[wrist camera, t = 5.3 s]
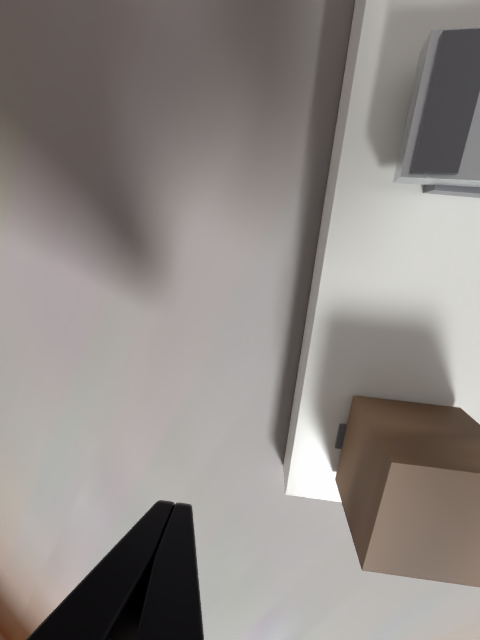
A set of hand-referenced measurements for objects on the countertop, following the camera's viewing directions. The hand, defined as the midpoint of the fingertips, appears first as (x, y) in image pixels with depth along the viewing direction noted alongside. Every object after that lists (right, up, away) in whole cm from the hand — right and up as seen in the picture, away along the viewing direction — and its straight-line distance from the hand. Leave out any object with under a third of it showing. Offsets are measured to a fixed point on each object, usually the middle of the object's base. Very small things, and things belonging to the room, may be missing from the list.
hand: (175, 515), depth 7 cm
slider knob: (+7, 0, +3) cm, 8 cm away
